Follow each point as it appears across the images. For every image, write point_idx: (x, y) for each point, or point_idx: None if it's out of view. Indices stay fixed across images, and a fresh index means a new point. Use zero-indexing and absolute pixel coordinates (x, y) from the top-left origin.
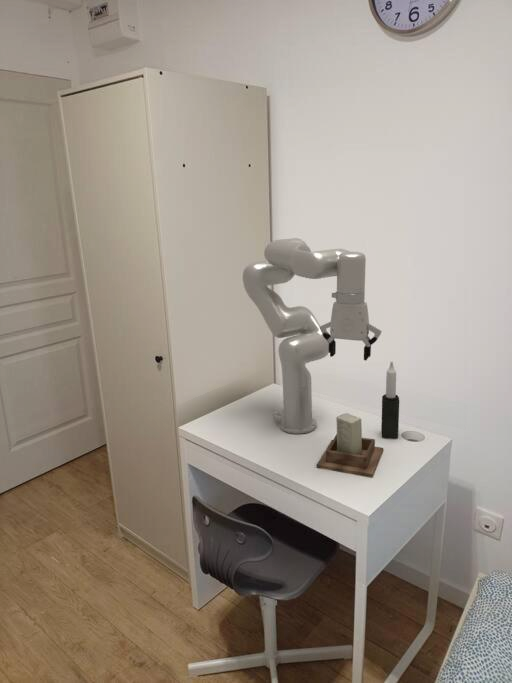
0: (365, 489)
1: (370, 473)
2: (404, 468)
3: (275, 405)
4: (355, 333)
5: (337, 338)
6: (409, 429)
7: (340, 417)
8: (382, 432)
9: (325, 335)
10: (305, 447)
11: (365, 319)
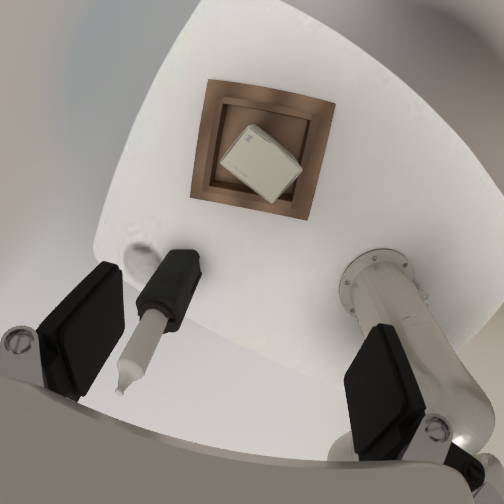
0: (223, 36)
1: (213, 81)
2: (148, 130)
3: None
4: (37, 499)
5: (385, 461)
6: None
7: (288, 167)
8: (194, 258)
9: (468, 471)
10: (363, 192)
11: None
